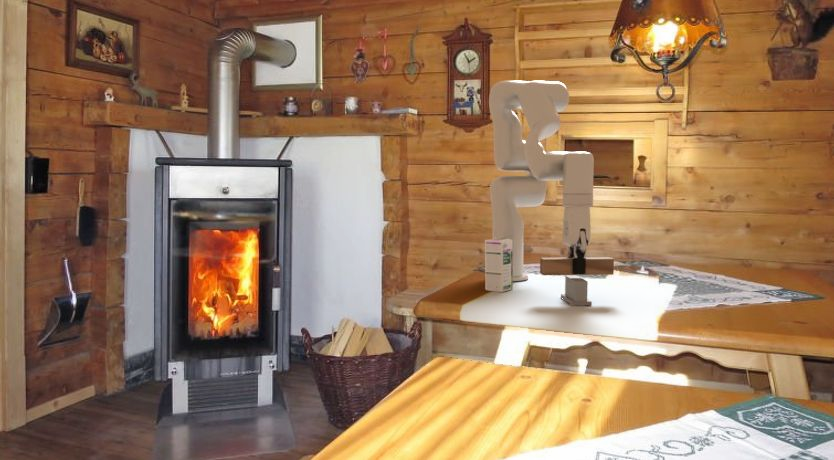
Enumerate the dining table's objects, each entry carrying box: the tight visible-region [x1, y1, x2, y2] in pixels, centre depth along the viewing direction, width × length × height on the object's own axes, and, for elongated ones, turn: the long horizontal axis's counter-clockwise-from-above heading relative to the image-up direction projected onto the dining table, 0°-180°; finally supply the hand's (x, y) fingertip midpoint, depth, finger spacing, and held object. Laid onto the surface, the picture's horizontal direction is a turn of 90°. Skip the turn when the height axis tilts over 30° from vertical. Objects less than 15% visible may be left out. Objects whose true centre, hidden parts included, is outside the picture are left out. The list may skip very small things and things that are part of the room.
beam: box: [539, 256, 615, 276], centre depth 181 cm, size 4×18×4 cm, turn 93°
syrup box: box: [484, 238, 514, 293], centre depth 198 cm, size 6×6×14 cm
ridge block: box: [560, 275, 593, 306], centre depth 181 cm, size 11×5×6 cm, turn 3°
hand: (576, 272), depth 181 cm, fingers closed on beam, 3 cm apart
